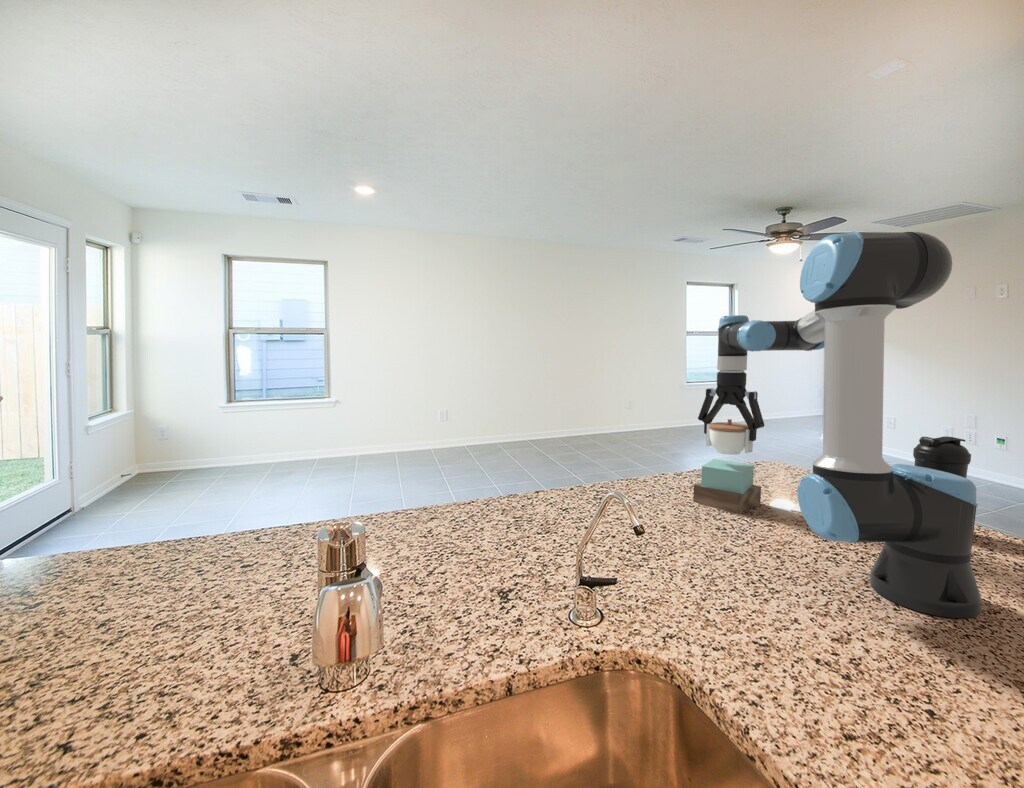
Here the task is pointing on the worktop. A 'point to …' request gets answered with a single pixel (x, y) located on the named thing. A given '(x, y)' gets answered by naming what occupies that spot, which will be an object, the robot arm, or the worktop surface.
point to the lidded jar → (728, 436)
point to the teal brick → (727, 476)
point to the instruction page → (796, 508)
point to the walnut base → (727, 498)
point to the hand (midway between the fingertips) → (728, 448)
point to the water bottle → (942, 455)
